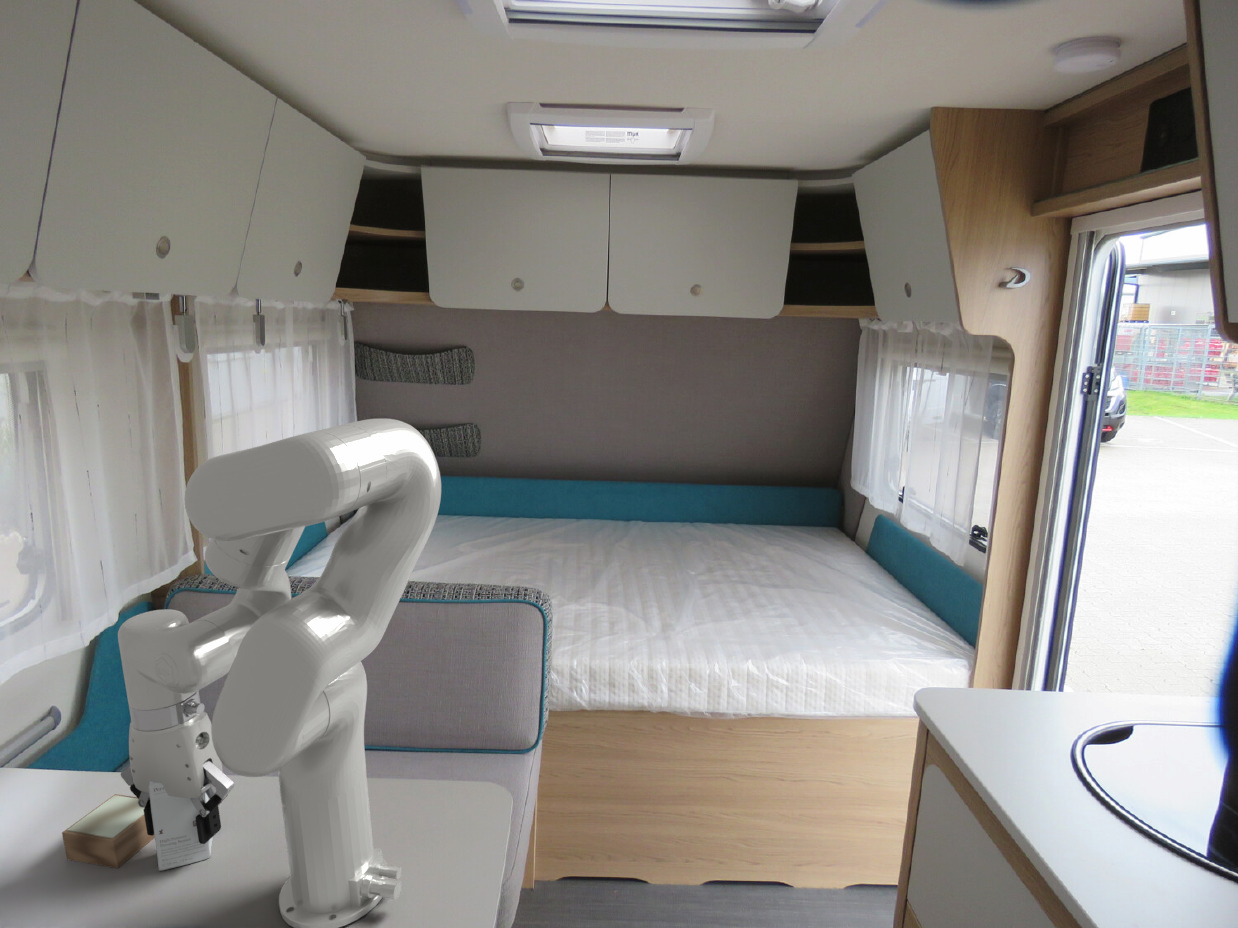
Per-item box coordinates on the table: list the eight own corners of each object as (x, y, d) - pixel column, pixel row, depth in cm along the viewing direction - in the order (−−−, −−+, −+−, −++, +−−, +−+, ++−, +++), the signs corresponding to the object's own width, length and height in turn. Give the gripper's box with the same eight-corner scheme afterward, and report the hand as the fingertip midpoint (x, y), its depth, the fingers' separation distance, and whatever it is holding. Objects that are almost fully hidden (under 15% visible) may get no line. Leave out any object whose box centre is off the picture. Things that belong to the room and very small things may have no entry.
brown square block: (167, 826, 103) (163, 800, 102) (118, 868, 96) (113, 839, 95) (119, 819, 105) (115, 792, 104) (67, 859, 97) (61, 831, 96)
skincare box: (158, 873, 95) (144, 788, 92) (163, 850, 99) (150, 768, 96) (213, 857, 97) (201, 774, 95) (215, 836, 101) (204, 756, 99)
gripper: (246, 700, 95) (262, 822, 99) (133, 687, 99) (152, 805, 103) (202, 731, 88) (221, 862, 92) (82, 717, 92) (104, 843, 96)
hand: (184, 831), depth 97 cm, fingers closed on skincare box, 7 cm apart
